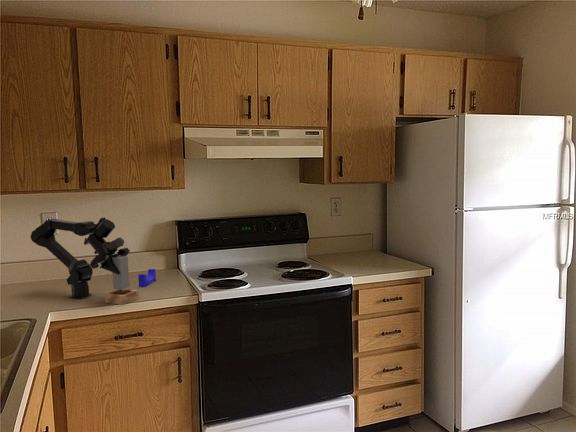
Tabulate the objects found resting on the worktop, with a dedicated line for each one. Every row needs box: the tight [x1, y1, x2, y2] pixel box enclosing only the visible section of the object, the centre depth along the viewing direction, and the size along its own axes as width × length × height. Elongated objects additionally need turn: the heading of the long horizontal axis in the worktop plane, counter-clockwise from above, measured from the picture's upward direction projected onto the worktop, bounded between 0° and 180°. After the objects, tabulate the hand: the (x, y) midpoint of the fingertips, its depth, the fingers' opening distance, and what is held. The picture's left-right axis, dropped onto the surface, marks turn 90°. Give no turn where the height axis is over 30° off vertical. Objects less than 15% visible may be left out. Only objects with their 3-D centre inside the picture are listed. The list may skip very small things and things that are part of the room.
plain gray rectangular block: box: [111, 255, 130, 290], centre depth 198 cm, size 4×4×13 cm
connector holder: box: [104, 288, 140, 305], centre depth 199 cm, size 10×10×4 cm
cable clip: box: [137, 268, 157, 288], centre depth 227 cm, size 12×4×6 cm, turn 172°
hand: (123, 272), depth 198 cm, fingers closed on plain gray rectangular block, 4 cm apart
